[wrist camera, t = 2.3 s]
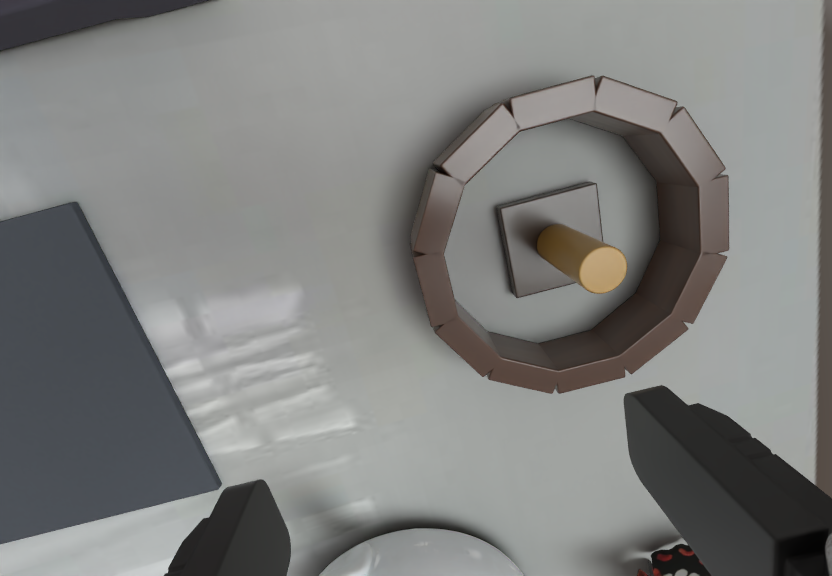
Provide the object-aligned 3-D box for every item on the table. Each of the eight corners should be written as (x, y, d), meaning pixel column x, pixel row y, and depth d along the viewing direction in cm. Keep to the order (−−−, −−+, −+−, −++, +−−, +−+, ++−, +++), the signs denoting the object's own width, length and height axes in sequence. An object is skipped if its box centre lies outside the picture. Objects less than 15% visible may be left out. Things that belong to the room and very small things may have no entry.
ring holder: (495, 206, 22) (533, 226, 16) (590, 181, 22) (660, 193, 16) (512, 294, 23) (551, 340, 18) (600, 271, 23) (668, 310, 18)
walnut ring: (381, 135, 20) (379, 132, 17) (677, 55, 20) (728, 38, 17) (448, 387, 25) (456, 420, 22) (689, 326, 25) (730, 351, 22)
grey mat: (-264, 294, 21) (-279, 297, 21) (77, 201, 21) (70, 202, 20) (-49, 551, 27) (-57, 558, 26) (222, 483, 26) (219, 489, 26)
